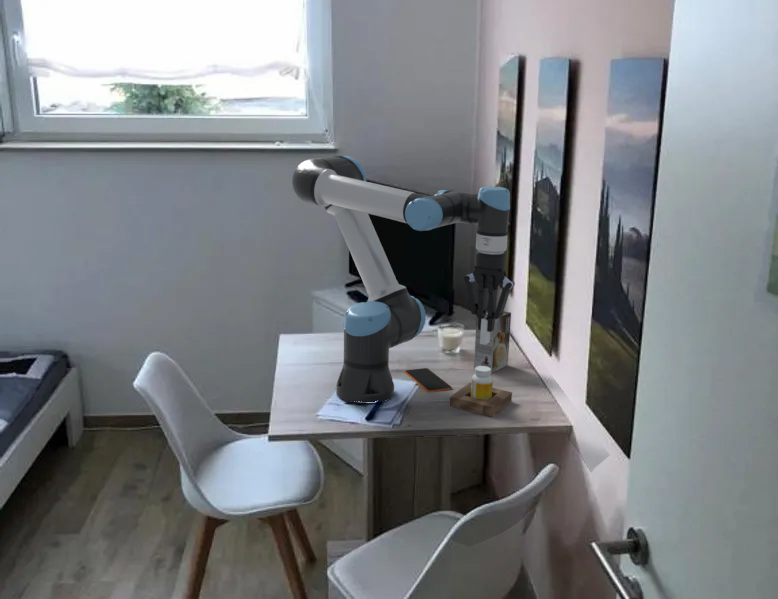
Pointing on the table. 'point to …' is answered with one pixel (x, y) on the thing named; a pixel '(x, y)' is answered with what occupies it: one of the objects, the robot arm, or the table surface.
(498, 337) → the coffee box
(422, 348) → the table surface
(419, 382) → the smartphone
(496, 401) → the holder block
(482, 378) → the supplement bottle
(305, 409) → the table surface
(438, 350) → the table surface
